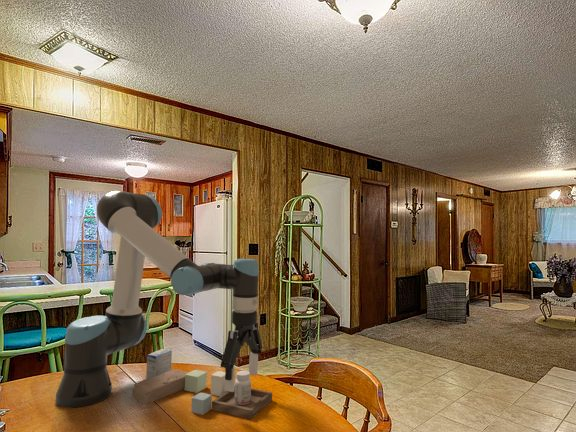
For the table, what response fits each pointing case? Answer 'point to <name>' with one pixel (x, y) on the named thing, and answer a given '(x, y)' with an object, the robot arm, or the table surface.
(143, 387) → the brick
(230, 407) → the tray
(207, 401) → the blue-grey block
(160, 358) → the medicine box
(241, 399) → the pill bottle
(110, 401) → the table surface
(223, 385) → the cream block
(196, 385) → the sage block
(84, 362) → the robot arm
